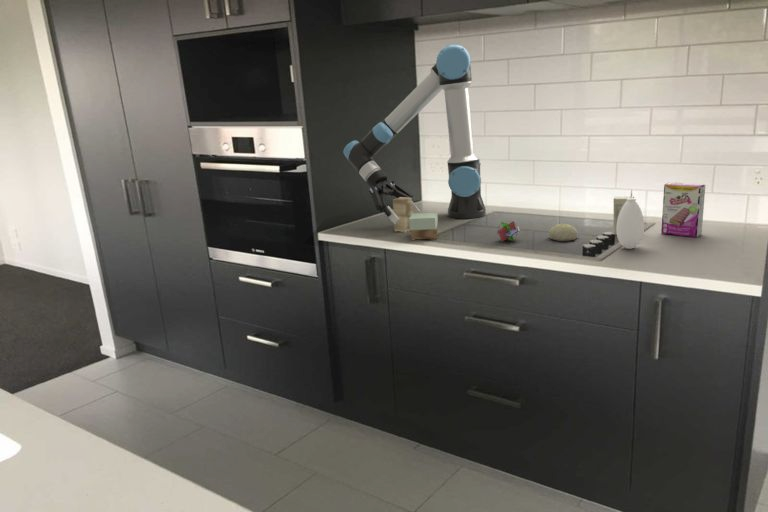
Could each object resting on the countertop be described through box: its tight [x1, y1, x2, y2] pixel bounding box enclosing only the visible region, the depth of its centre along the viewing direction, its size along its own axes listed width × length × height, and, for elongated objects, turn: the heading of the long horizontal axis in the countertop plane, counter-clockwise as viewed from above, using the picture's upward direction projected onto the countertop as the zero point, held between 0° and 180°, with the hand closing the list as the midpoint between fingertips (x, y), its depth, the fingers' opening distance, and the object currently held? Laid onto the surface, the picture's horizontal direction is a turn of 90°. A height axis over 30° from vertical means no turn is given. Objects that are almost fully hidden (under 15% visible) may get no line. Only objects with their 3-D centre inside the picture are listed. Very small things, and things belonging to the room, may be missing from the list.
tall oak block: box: [392, 197, 413, 233], centre depth 232 cm, size 5×5×12 cm
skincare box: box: [613, 196, 635, 236], centre depth 206 cm, size 6×4×12 cm
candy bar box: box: [660, 181, 706, 238], centre depth 199 cm, size 11×5×16 cm, turn 47°
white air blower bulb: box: [616, 189, 645, 250], centre depth 188 cm, size 8×8×18 cm
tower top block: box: [409, 212, 439, 230], centre depth 220 cm, size 9×9×4 cm
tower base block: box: [410, 226, 439, 241], centre depth 221 cm, size 9×9×4 cm
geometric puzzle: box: [496, 220, 521, 243], centre depth 208 cm, size 7×7×8 cm
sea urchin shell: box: [548, 223, 578, 242], centre depth 206 cm, size 9×8×8 cm
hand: (408, 218), depth 231 cm, fingers open, 13 cm apart
